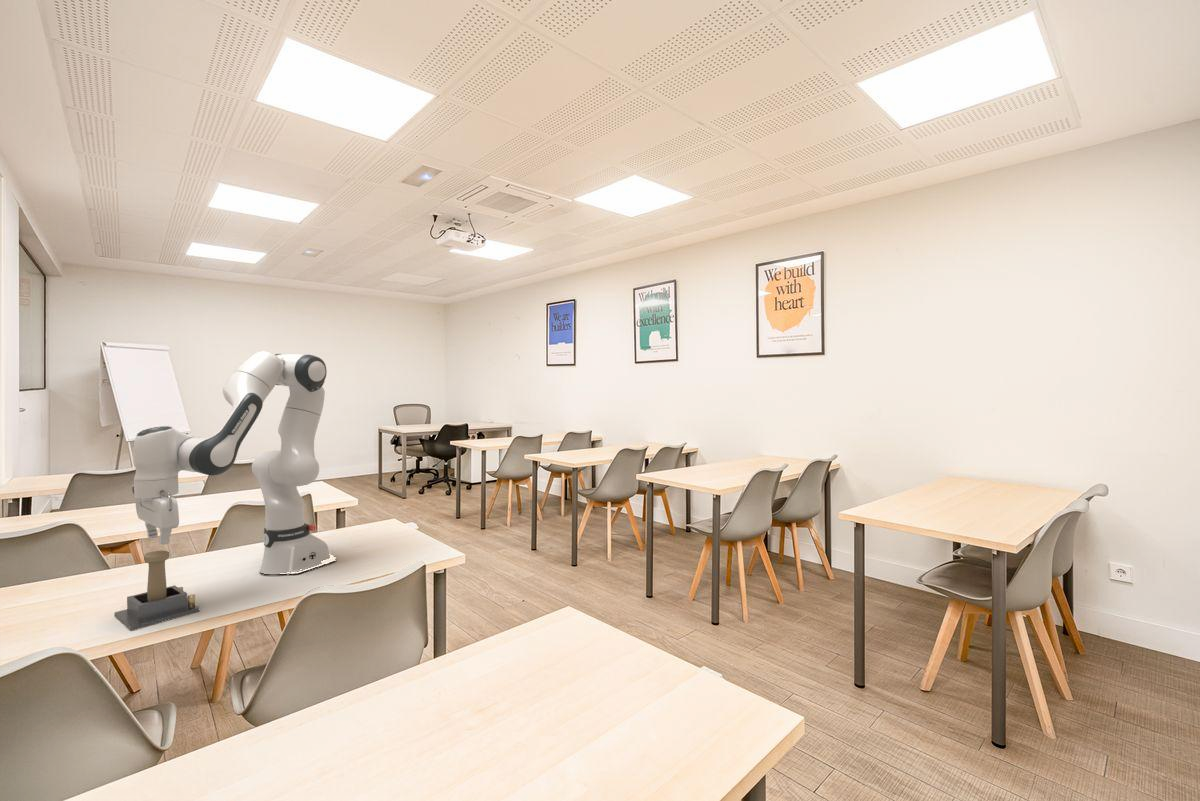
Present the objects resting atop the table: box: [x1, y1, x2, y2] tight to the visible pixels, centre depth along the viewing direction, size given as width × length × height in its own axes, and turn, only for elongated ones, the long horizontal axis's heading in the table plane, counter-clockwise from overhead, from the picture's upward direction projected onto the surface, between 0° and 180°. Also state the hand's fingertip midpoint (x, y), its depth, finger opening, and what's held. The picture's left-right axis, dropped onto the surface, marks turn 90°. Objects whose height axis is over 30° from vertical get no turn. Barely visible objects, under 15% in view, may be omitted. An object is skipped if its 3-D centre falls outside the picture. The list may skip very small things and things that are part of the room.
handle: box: [143, 550, 170, 602], centre depth 136 cm, size 5×6×15 cm
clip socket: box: [114, 585, 200, 632], centre depth 137 cm, size 14×14×5 cm
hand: (158, 540), depth 137 cm, fingers open, 8 cm apart
